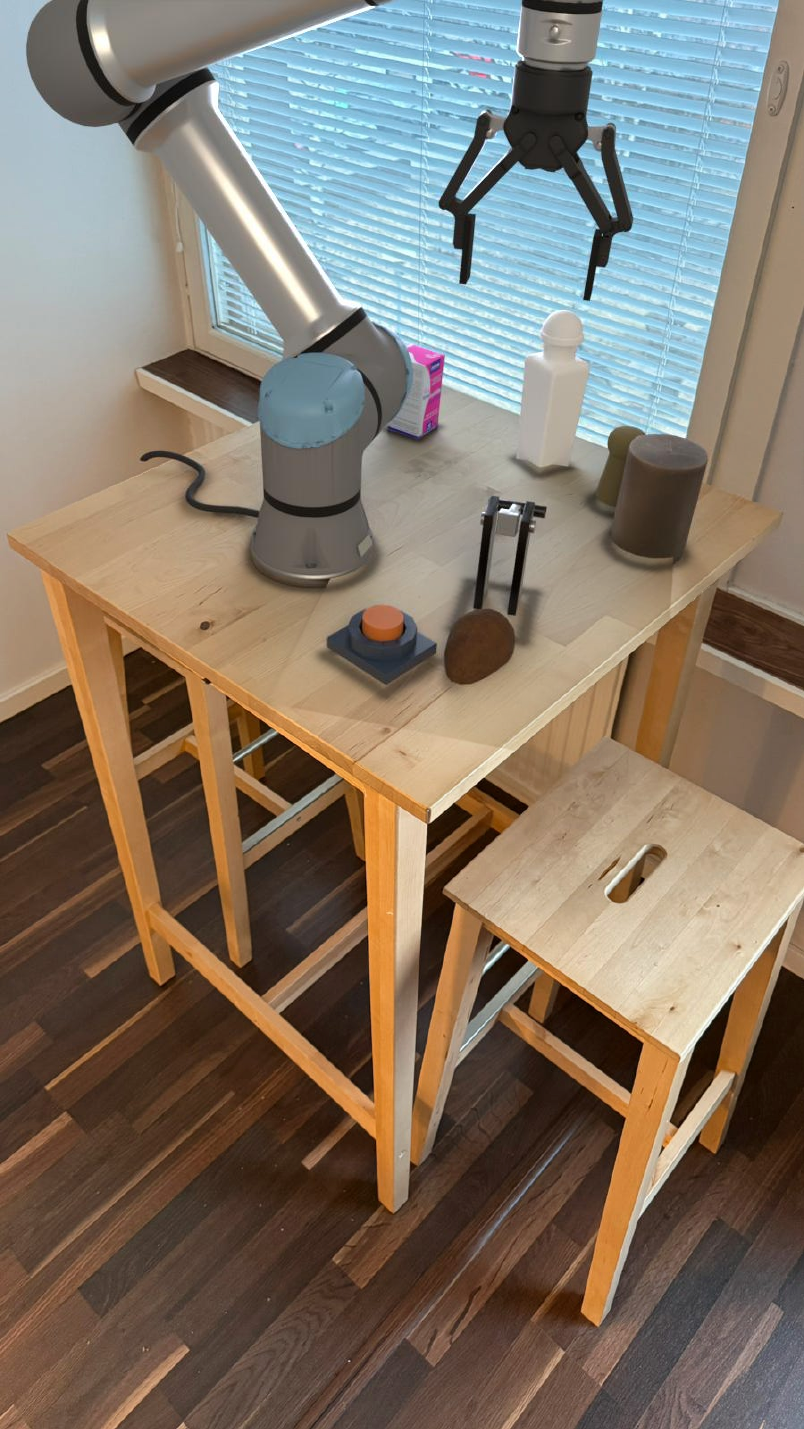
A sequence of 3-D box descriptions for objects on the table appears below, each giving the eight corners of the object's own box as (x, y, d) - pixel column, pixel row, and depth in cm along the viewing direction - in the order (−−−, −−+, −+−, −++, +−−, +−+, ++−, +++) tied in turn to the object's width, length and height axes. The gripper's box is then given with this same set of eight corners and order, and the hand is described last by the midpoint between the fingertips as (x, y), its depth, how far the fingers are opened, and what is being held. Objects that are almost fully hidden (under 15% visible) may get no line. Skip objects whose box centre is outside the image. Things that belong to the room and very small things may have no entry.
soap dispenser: (546, 449, 153) (569, 299, 138) (573, 468, 148) (600, 315, 134) (510, 458, 150) (530, 306, 135) (537, 478, 146) (561, 323, 131)
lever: (487, 512, 125) (490, 492, 124) (544, 521, 124) (547, 501, 123) (473, 530, 113) (476, 508, 112) (536, 540, 112) (540, 519, 111)
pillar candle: (657, 576, 128) (685, 468, 118) (593, 545, 133) (615, 439, 123) (697, 548, 134) (727, 442, 124) (634, 519, 139) (658, 415, 129)
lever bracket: (470, 582, 125) (481, 481, 116) (534, 593, 124) (551, 492, 115) (454, 629, 118) (465, 525, 109) (523, 641, 117) (540, 537, 108)
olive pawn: (634, 495, 143) (651, 422, 136) (637, 518, 139) (655, 443, 132) (591, 491, 144) (605, 418, 136) (593, 513, 139) (608, 438, 132)
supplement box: (419, 441, 152) (424, 366, 145) (386, 429, 155) (389, 355, 147) (439, 427, 156) (445, 353, 149) (407, 416, 158) (411, 343, 151)
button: (353, 629, 110) (353, 616, 109) (381, 612, 113) (382, 599, 112) (383, 647, 108) (383, 634, 107) (411, 630, 111) (412, 617, 109)
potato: (423, 681, 111) (428, 629, 106) (469, 633, 118) (475, 582, 113) (481, 705, 108) (488, 653, 104) (524, 654, 115) (532, 603, 110)
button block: (326, 656, 113) (326, 623, 110) (376, 626, 118) (378, 594, 115) (385, 695, 109) (387, 662, 106) (435, 662, 113) (438, 629, 110)
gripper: (419, 55, 97) (407, 284, 111) (685, 82, 94) (638, 315, 108) (435, 42, 103) (421, 263, 117) (686, 68, 99) (641, 291, 113)
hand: (525, 288), depth 112 cm, fingers open, 13 cm apart
